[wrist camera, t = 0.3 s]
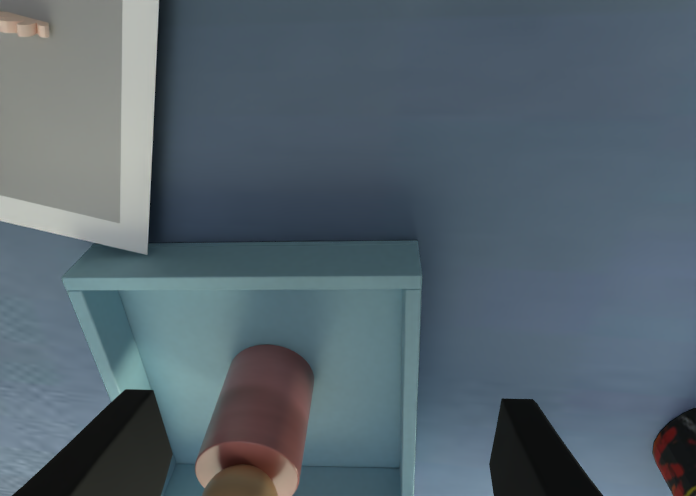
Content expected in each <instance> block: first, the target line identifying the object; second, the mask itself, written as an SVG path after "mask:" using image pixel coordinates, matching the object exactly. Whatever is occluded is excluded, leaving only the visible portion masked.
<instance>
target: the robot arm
mask: <svg viewBox="0 0 696 496" xmlns="http://www.w3.org/2000/svg"><path fill="white" fill-rule="evenodd" d="M172 455H173V453H172V449H171V446H170V443H169V440H168V436H167V433H166V430H165V426H164V423H163V420H162V417H161V413H160V410H159V407H158V404H157V400H156V397H155V394H154V390H139V389H125V390H124V391H123V392H122V393H121V394H120V395H119V396H117V397H116V398H115V399H114V400H113V401H112V402H111V403H110V404H109V405H108V406H107V407H106V408H105V409H104V410H103V411H102V412H101V413H100V414H99V415H98V416H97V417H95V418H94V419H93V420H92V421H91V422H90V423H89V424H88V425H87V426H86V427H85V428H84V429H83V430H82V431H81V432H80V433H79V434H78V435H77V436H76V437H75V438H74V439H73V440H72V441H71V442H70V443H69V444H68V445H67V446H65V447H64V448H63V449H62V450H61V451H60V452H59V453H58V454H57V455H56V456H55V457H54V458H53V459H52V460H51V461H49V462H48V463H47V464H46V465H45V466H44V467H43V468H42V469H41V470H40V471H39V472H38V473H37V474H36V475H35V476H33V477H32V478H31V479H30V480H29V481H28V482H27V483H26V484H25V485H24V486H23V487H21V488H20V489H19V490H18V491H17V492H16V493H15V494H13V495H12V496H161V494H162V490H163V487H164V484H165V480H166V477H167V473H168V470H169V466H170V462H171V459H172ZM489 465H490V472H491V479H492V486H493V493H494V496H603V495H602V494H601V492H600V491H599V490H598V488H597V487H596V486H595V485H594V483H593V482H592V481H591V479H590V478H589V477H588V475H587V474H586V473H585V471H584V470H583V469H582V467H581V466H580V465H579V463H578V462H577V461H576V459H575V458H574V456H573V455H572V454H571V452H570V451H569V449H568V448H567V447H566V445H565V444H564V442H563V441H562V440H561V438H560V437H559V435H558V434H557V432H556V431H555V429H554V428H553V427H552V425H551V424H550V422H549V421H548V419H547V418H546V416H545V415H544V413H543V412H542V410H541V409H540V407H539V406H538V404H537V403H536V402H535V401H534V400H533V399H502V400H501V406H500V411H499V416H498V422H497V427H496V432H495V437H494V443H493V448H492V453H491V458H490V464H489Z"/></svg>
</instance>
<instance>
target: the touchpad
mask: <svg viewBox="0 0 696 496" xmlns="http://www.w3.org/2000/svg"><path fill="white" fill-rule="evenodd" d="M158 16H159V0H0V221H3V222H7V223H12V224H16V225H20V226H25V227H29V228H33V229H37V230H42V231H46V232H50V233H55V234H59V235H63V236H68V237H72V238H76V239H81V240H85V241H89V242H93V243H98V244H102V245H106V246H111V247H115V248H119V249H124V250H128V251H132V252H137V253H141V254H145V255H148V234H149V212H150V190H151V168H152V147H153V125H154V103H155V81H156V60H157V38H158Z"/></svg>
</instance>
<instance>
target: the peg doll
mask: <svg viewBox="0 0 696 496" xmlns="http://www.w3.org/2000/svg"><path fill="white" fill-rule="evenodd" d="M313 387H314V374H313V371H312V369H311V367H310V365H309V364H308V362H307V361H306V360H305V359H304V358H303V357H302V356H300V355H299V354H297V353H296V352H294V351H292V350H290V349H288V348H285V347H281V346H277V345H268V344H265V345H256V346H252V347H249V348H247V349H245V350H243V351H241V352H240V353H239V354H237V355H236V356H235V357H234V359H233V360H232V362H231V364H230V367H229V370H228V373H227V375H226V378H225V381H224V384H223V386H222V389H221V392H220V395H219V398H218V400H217V403H216V406H215V409H214V412H213V414H212V417H211V420H210V423H209V426H208V428H207V431H206V434H205V437H204V439H203V442H202V445H201V448H200V451H199V453H198V456H197V459H196V462H195V473H196V477H197V479H198V481H199V482H200V484H201V485H202V486H203V487H204V488H205V489H204V491H203V493H202V496H292V495H293V494H294V493H295V491H296V490H297V488H298V486H299V481H300V474H301V467H302V461H303V454H304V447H305V441H306V434H307V427H308V421H309V414H310V407H311V401H312V394H313Z"/></svg>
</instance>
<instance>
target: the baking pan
mask: <svg viewBox="0 0 696 496" xmlns="http://www.w3.org/2000/svg"><path fill="white" fill-rule="evenodd" d="M61 279H62V281H63V284H64V286H65V289H66V290H67V293H68V296H69V298H70V301H71V303H72V306H73V308H74V311H75V313H76V315H77V318H78V320H79V323H80V325H81V328H82V330H83V333H84V335H85V338H86V340H87V343H88V345H89V348H90V350H91V353H92V355H93V358H94V360H95V363H96V365H97V368H98V370H99V373H100V375H101V378H102V380H103V383H104V385H105V388H106V390H107V393H108V395H109V398H110V400H111V402H112V401H113V400H114V399H115V398H116V397H117V396H119V395H120V394H121V393H122V392H123V391H124V390H125V389H139V390H154V394H155V397H156V400H157V404H158V407H159V410H160V413H161V417H162V420H163V423H164V426H165V430H166V433H167V436H168V440H169V443H170V446H171V449H172V453H173V455H172V459H171V462H170V466H169V470H168V473H167V477H166V480H165V484H164V487H163V490H162V494H161V496H202V493H203V491H204V489H205V488H204V487H203V486H202V485H201V484H200V482H199V481H198V479H197V477H196V473H195V462H196V459H197V456H198V453H199V451H200V448H201V445H202V442H203V439H204V437H205V434H206V431H207V428H208V426H209V423H210V420H211V417H212V414H213V412H214V409H215V406H216V403H217V400H218V398H219V395H220V392H221V389H222V386H223V384H224V381H225V378H226V375H227V373H228V370H229V367H230V364H231V362H232V360H233V359H234V357H235V356H236V355H237V354H239V353H240V352H241V351H243V350H245V349H247V348H249V347H252V346H256V345H265V344H268V345H277V346H281V347H285V348H288V349H290V350H292V351H294V352H296V353H297V354H299V355H300V356H302V357H303V358H304V359H305V360H306V361H307V362H308V364H309V365H310V367H311V369H312V371H313V374H314V387H313V394H312V401H311V407H310V414H309V421H308V427H307V434H306V441H305V447H304V454H303V461H302V467H301V474H300V481H299V486H298V488H297V490H296V491H295V493H294V494H293V495H292V496H414V476H415V450H416V425H417V399H418V374H419V348H420V323H421V298H422V269H421V262H420V254H419V247H418V241H417V240H411V241H317V242H223V243H148V255H145V254H141V253H137V252H132V251H128V250H124V249H119V248H115V247H111V246H106V245H102V244H93V245H92V246H91V248H90V249H89V250H88V251H87V252H86V253H85V254H84V255H83V256H82V257H81V258H80V259H79V260H78V261H77V262H76V263H75V264H74V265H73V266H72V267H71V268H70V269H69V270H68V271H67V272H66V273H65V274H64V275H63V276H62V278H61Z"/></svg>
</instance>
